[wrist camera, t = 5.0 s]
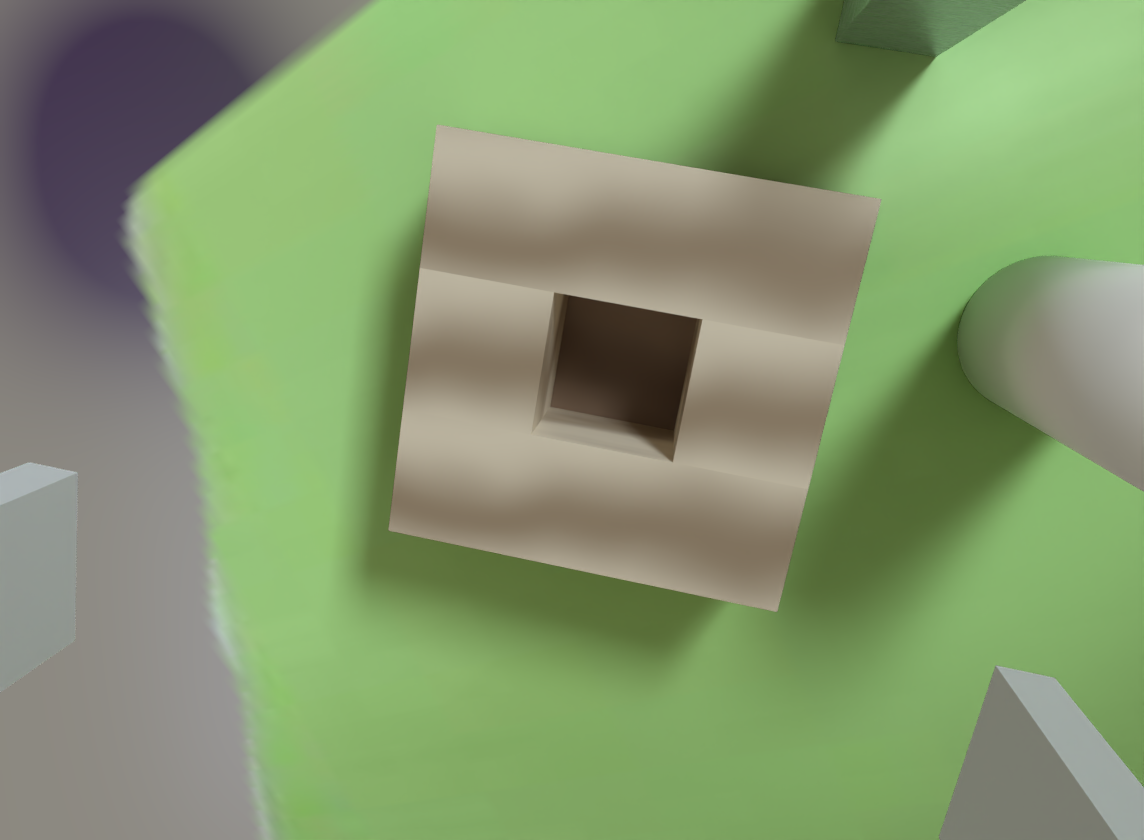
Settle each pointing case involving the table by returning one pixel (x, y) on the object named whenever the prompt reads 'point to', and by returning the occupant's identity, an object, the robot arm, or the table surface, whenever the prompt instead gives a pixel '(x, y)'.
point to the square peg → (916, 22)
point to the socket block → (623, 362)
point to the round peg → (1064, 354)
